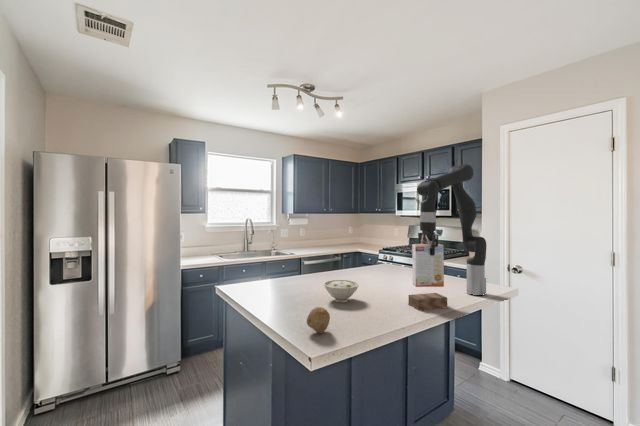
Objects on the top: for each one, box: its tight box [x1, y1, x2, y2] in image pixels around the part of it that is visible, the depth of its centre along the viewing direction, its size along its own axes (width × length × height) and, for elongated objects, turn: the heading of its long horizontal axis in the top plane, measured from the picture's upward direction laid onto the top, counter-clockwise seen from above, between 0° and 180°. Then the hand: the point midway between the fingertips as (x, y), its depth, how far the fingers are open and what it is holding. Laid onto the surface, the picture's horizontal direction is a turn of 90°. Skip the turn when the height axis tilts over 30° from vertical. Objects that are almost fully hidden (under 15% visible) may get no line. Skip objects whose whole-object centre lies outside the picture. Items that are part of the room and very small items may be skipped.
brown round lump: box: [306, 306, 331, 334], centre depth 116 cm, size 9×9×10 cm
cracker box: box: [411, 243, 445, 288], centre depth 149 cm, size 14×6×21 cm, turn 89°
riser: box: [408, 292, 448, 311], centre depth 149 cm, size 16×9×5 cm, turn 104°
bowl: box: [322, 279, 360, 303], centre depth 159 cm, size 19×19×10 cm
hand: (427, 254), depth 149 cm, fingers closed on cracker box, 6 cm apart
